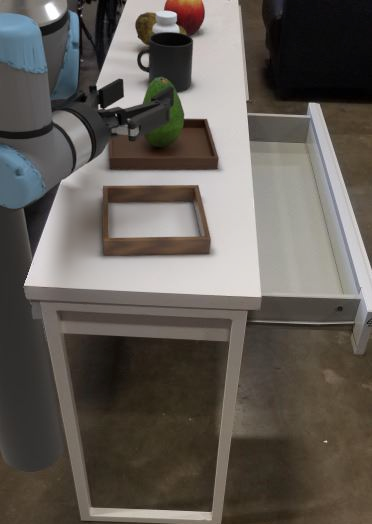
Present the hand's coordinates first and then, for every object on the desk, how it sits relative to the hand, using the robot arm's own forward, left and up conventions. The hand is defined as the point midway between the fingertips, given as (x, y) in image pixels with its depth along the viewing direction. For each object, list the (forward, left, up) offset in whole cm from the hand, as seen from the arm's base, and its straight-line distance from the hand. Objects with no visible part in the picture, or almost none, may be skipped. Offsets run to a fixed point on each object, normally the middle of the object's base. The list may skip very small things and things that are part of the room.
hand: (146, 91), depth 93 cm
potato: (+7, +61, -13) cm, 63 cm away
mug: (+6, +39, -13) cm, 41 cm away
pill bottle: (+7, +49, -13) cm, 51 cm away
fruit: (+14, +75, -13) cm, 77 cm away
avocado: (+3, +8, -13) cm, 15 cm away
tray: (+3, +8, -13) cm, 15 cm away
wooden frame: (0, -18, -13) cm, 22 cm away
